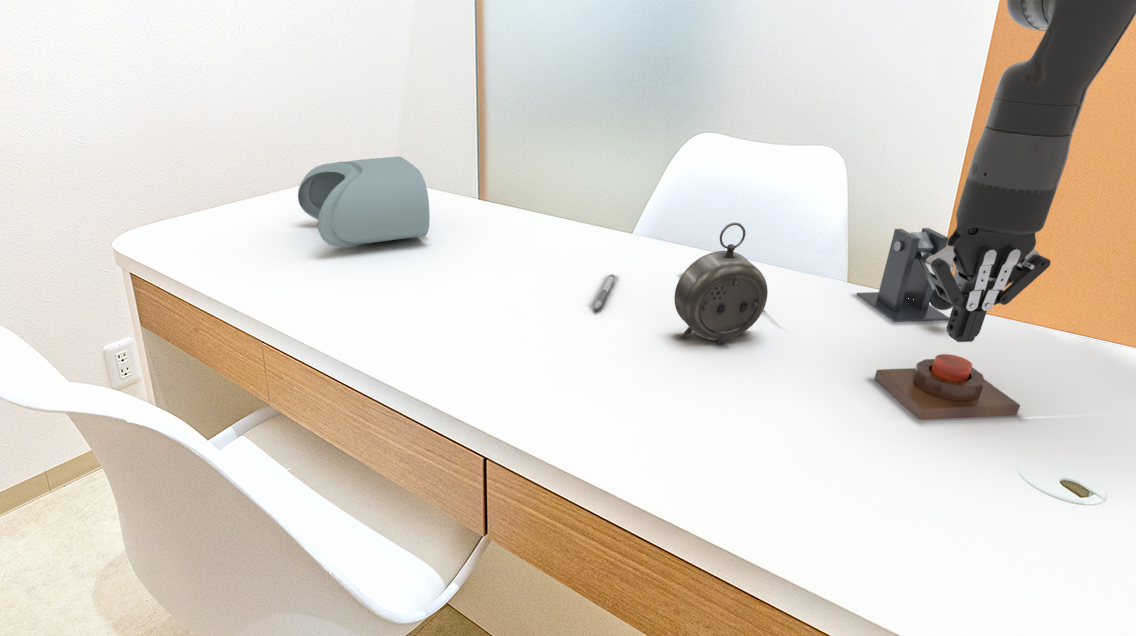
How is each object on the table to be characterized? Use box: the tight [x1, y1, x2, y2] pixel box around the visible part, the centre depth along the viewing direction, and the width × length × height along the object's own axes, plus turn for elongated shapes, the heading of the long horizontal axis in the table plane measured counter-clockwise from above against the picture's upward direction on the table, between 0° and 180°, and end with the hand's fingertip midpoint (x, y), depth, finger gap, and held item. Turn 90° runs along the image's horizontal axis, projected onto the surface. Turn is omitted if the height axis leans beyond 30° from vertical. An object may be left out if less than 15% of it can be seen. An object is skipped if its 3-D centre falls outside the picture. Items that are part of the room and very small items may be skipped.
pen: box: [594, 274, 615, 310], centre depth 112 cm, size 1×14×1 cm, turn 162°
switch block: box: [873, 358, 1021, 421], centre depth 83 cm, size 11×9×4 cm
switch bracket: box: [856, 227, 950, 323], centre depth 105 cm, size 10×8×12 cm
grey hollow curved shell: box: [297, 156, 431, 248], centre depth 134 cm, size 22×19×13 cm
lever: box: [910, 231, 953, 311], centre depth 100 cm, size 12×3×3 cm, turn 4°
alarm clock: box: [674, 222, 768, 347], centre depth 94 cm, size 11×5×16 cm, turn 100°
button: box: [931, 353, 973, 382], centre depth 82 cm, size 4×4×2 cm
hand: (960, 338), depth 80 cm, fingers closed
